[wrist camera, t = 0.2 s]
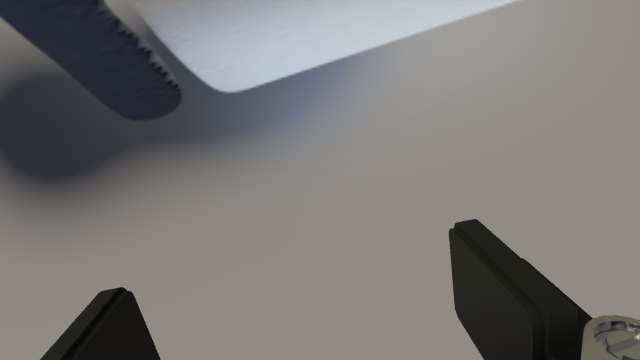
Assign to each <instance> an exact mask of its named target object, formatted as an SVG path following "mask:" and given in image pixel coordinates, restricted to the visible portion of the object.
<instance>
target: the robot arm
mask: <svg viewBox="0 0 640 360" xmlns="http://www.w3.org/2000/svg"><path fill="white" fill-rule="evenodd" d="M449 241H450V253H451V265H452V279H453V291H454V301H455V310H456V313H457V316H458V318H459V320H460V321H461V323H462V325H463V326H464V328H465V330H466V331H467V333H468V334H469V336H470V338H471V339H472V341H473V342H474V344H475V345H476V347H477V349H478V350H479V352H480V354H481V355H482V357H483V358H484V360H640V320H637V319H633V318H631V317H624V316H617V315H613V316H601V317H597V318H592V317H590V316H589V315H588V314H587V313H586V312H585V311H584V310H583V309H581V308H580V307H579V306H578V305H577V304H575V303H574V302H573V301H572V300H571V299H570V298H569V297H568V296H566V295H565V294H564V293H563V292H562V291H561V290H560V289H558V288H557V287H556V286H555V285H554V284H553V283H551V282H550V281H549V280H548V279H547V278H546V277H544V276H543V275H542V274H541V273H540V272H539V271H537V270H536V269H535V268H534V267H533V266H532V265H531V264H530V263H528V262H527V261H526V260H524V259H523V258H520V257H519V256H518V255H517V254H516V253H515V252H513V251H512V250H511V249H510V248H509V247H508V246H506V245H505V244H504V243H503V242H502V241H501V240H500V239H499V238H497V237H496V236H495V235H494V234H493V233H492V232H491V231H489V230H488V229H487V228H486V227H485V226H484V225H483V224H482V223H480V222H479V221H478V220H477V219H473V220H468V221H462V222H457V223H455V226H454V228H453V229H450V230H449ZM40 360H160V357H159V354H158V352H157V350H156V347H155V345H154V342H153V340H152V338H151V335H150V333H149V331H148V328H147V326H146V323H145V321H144V318H143V316H142V314H141V311H140V309H139V306H138V304H137V302H136V299H135V297H134V295H133V293H132V292H131V291H127V290H126V289H125V288H123V287H120V288H116V289H110V290H105V291H101V292H100V293H98V294H97V296H96V297H95V298H94V299H93V300H92V301H91V303H90V304H89V305H88V306H87V307H86V308H85V310H84V311H83V312H82V313H81V314H80V315H79V316H78V317H77V318H76V319H75V321H74V322H73V323H72V324H71V325H70V326H69V328H68V329H67V330H66V331H65V332H64V333H63V334H62V335H61V336H60V338H59V339H58V340H57V341H56V342H55V343H54V345H53V346H52V347H51V348H50V349H49V350H48V351H47V352H46V354H45V355H44V356H43V357H42V358H41V359H40Z"/></svg>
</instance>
